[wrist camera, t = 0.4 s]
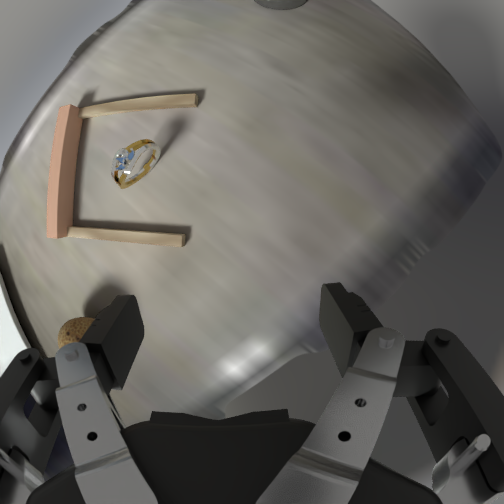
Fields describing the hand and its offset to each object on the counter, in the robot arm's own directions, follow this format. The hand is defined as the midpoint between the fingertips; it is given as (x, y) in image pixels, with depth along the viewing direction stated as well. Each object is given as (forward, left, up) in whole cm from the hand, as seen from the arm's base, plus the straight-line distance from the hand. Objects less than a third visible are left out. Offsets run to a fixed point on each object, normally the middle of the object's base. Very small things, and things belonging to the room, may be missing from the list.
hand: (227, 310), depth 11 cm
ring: (-9, -15, -25) cm, 31 cm away
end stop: (-9, -31, -25) cm, 40 cm away
